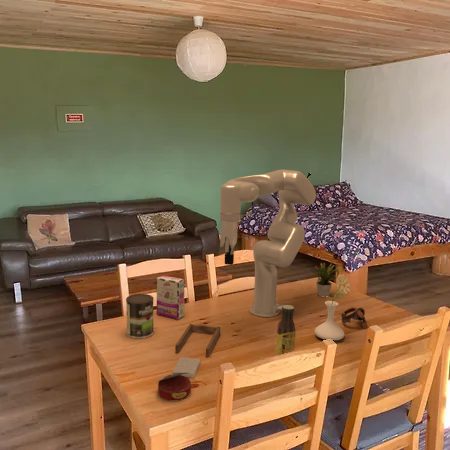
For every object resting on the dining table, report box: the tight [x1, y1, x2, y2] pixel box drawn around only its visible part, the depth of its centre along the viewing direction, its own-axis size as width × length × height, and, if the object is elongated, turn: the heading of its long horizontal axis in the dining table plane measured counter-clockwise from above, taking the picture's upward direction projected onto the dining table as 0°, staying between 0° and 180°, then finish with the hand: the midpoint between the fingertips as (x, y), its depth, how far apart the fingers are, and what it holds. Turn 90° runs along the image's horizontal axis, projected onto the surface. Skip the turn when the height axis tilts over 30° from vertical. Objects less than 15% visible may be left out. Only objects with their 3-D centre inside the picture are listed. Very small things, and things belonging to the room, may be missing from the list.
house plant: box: [312, 262, 340, 298], centre depth 226 cm, size 14×14×16 cm
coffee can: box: [125, 293, 155, 340], centre depth 183 cm, size 10×10×14 cm
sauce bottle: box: [274, 304, 296, 356], centre depth 163 cm, size 6×6×20 cm
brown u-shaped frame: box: [174, 323, 221, 358], centre depth 177 cm, size 12×19×3 cm, turn 168°
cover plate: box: [172, 356, 201, 379], centre depth 158 cm, size 7×10×2 cm
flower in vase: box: [314, 273, 351, 341], centre depth 182 cm, size 13×11×25 cm
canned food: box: [157, 372, 192, 401], centre depth 144 cm, size 11×10×10 cm
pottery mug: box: [340, 307, 368, 329], centre depth 197 cm, size 12×10×8 cm
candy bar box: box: [155, 274, 185, 321], centre depth 200 cm, size 11×5×16 cm, turn 62°
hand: (229, 263), depth 183 cm, fingers closed
